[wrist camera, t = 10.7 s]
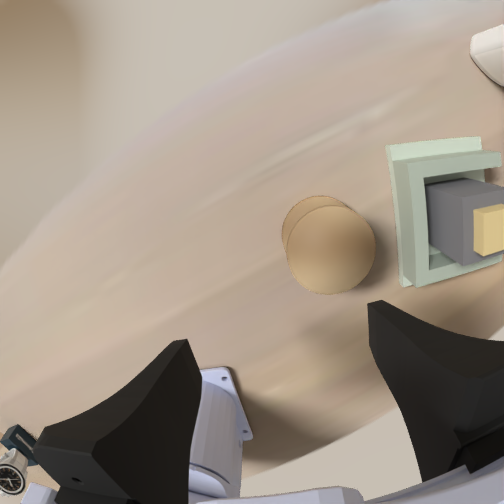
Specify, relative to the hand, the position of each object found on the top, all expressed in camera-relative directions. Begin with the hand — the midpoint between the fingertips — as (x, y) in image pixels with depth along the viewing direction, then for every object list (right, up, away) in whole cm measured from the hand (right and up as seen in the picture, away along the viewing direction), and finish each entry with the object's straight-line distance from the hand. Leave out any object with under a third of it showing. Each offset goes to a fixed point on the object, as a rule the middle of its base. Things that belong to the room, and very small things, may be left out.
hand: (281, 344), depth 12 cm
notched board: (+13, +7, +8) cm, 16 cm away
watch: (-34, -23, +19) cm, 45 cm away
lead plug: (+12, +7, +7) cm, 16 cm away
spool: (+3, +5, +9) cm, 11 cm away
